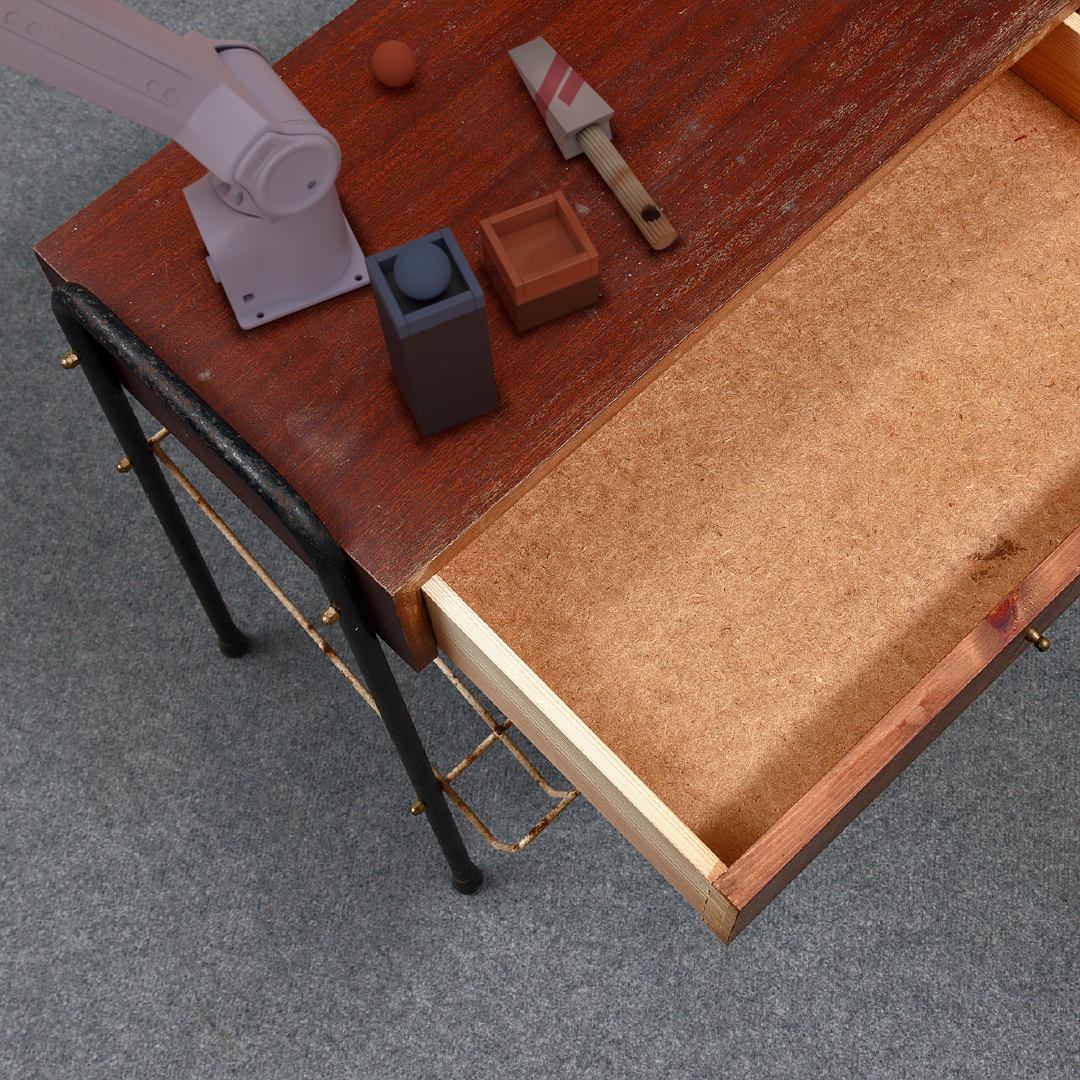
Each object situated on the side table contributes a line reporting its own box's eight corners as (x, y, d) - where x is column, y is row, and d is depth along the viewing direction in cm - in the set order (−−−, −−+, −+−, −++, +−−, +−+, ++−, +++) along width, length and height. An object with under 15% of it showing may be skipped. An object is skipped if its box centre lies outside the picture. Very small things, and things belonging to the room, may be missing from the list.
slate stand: (423, 438, 80) (397, 327, 69) (393, 375, 82) (363, 258, 71) (498, 408, 81) (484, 293, 70) (467, 346, 83) (448, 225, 72)
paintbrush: (547, 18, 91) (690, 218, 84) (547, 46, 94) (686, 243, 87) (500, 37, 91) (640, 240, 84) (501, 66, 93) (637, 265, 86)
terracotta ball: (384, 102, 93) (378, 68, 90) (369, 73, 94) (362, 39, 91) (425, 87, 93) (419, 54, 90) (409, 58, 94) (403, 24, 91)
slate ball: (410, 319, 71) (402, 285, 68) (389, 277, 72) (381, 241, 69) (462, 299, 71) (457, 264, 69) (441, 258, 73) (435, 221, 70)
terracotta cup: (519, 333, 84) (515, 287, 79) (484, 268, 86) (478, 220, 81) (598, 301, 84) (599, 254, 80) (562, 238, 87) (560, 189, 82)
